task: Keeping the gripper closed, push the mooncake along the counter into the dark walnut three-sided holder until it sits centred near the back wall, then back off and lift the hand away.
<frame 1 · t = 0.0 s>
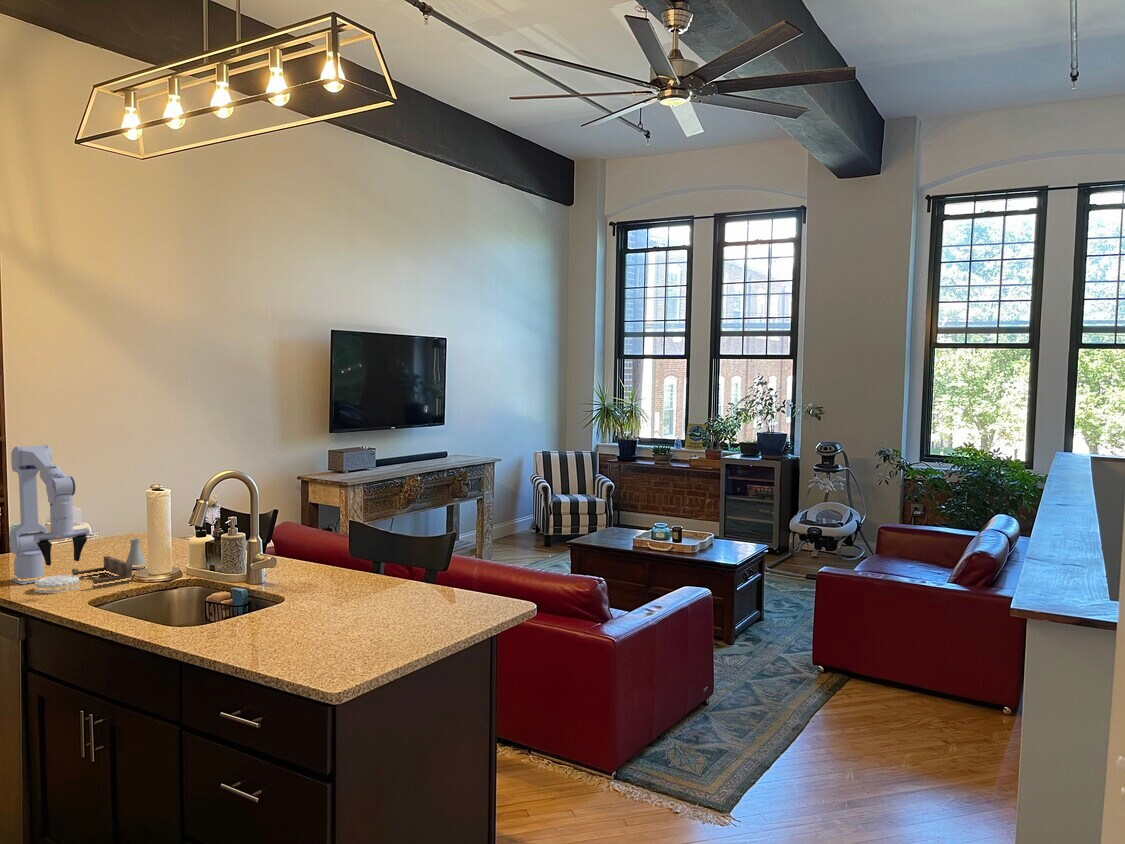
hand: (62, 562, 247), 10 cm above the counter, tool pointing down, fingers open, 7 cm apart
flask: (135, 569, 285), on the counter
mooncake: (57, 590, 256), on the counter
lid holder: (95, 582, 264), on the counter
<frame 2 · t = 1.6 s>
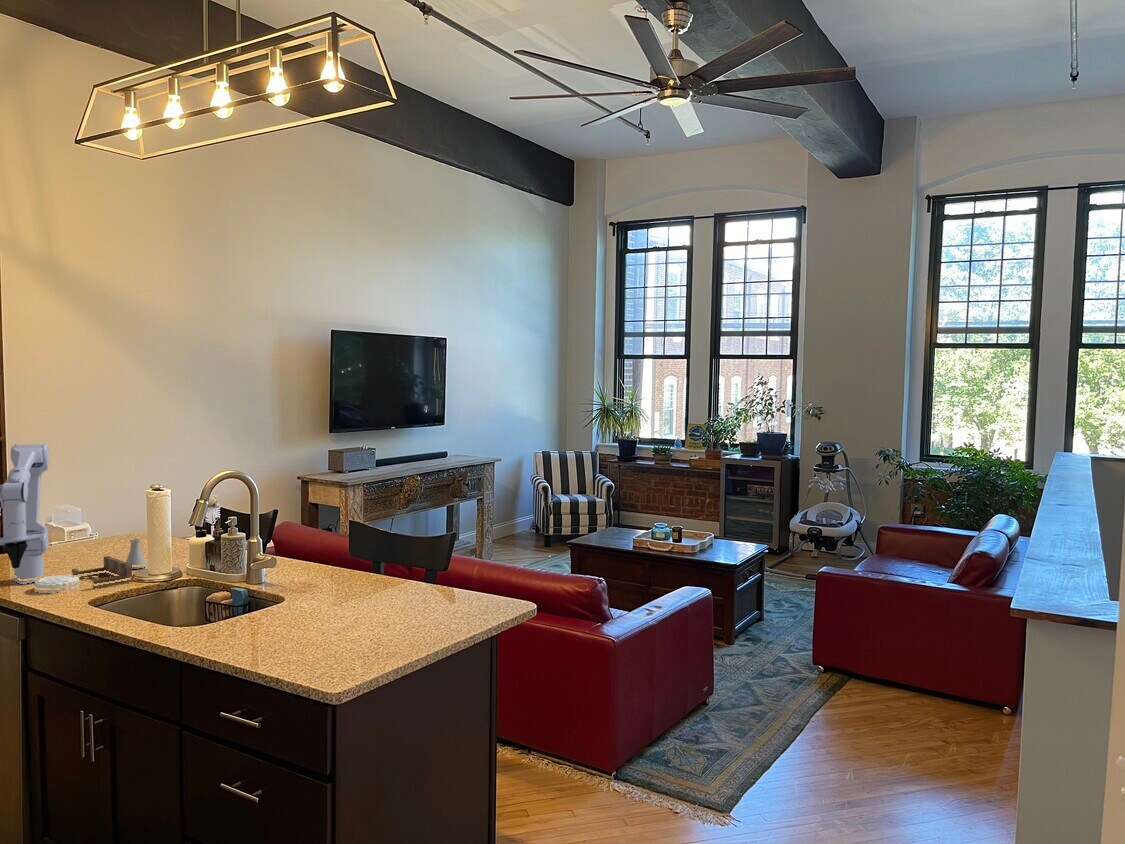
hand: (15, 567, 247), 9 cm above the counter, tool pointing down, fingers closed
nothing on the counter moved.
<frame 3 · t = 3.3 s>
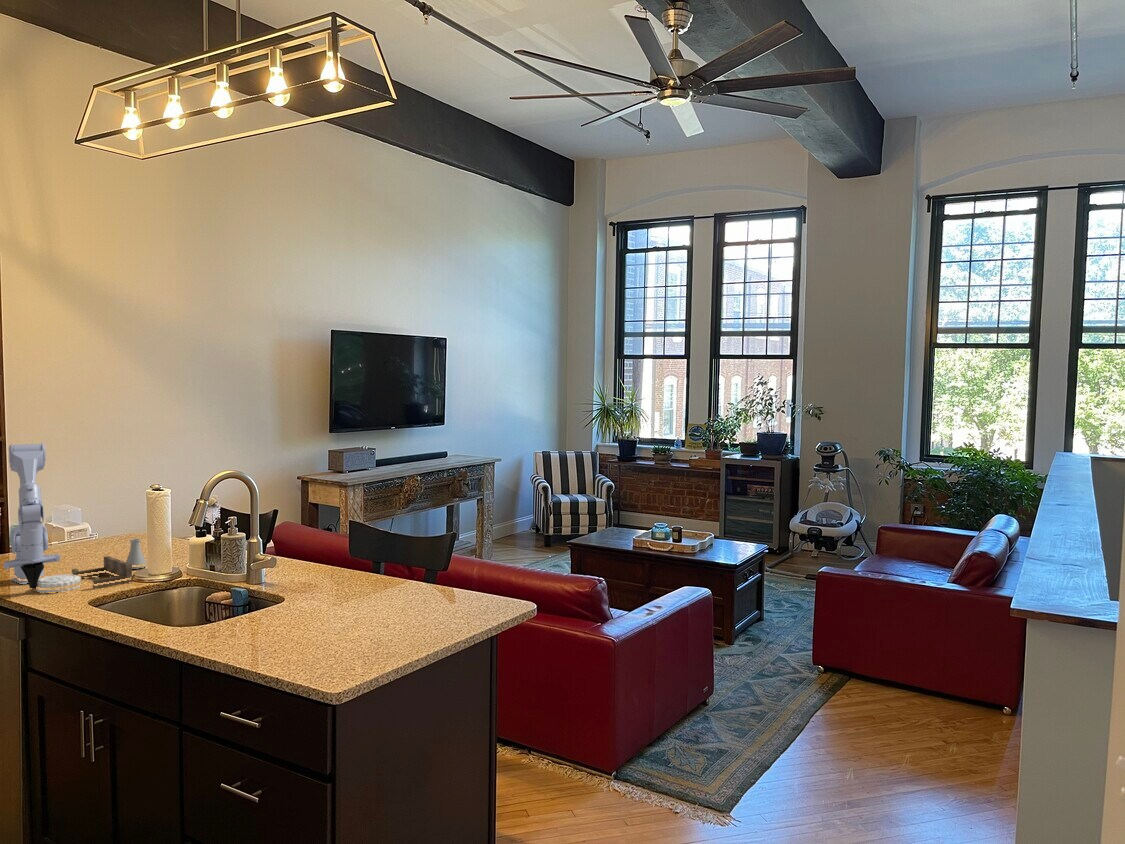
hand: (32, 588, 251), 1 cm above the counter, tool pointing down, fingers closed
mooncake: (58, 589, 256), on the counter, touching gripper
everything else where it was.
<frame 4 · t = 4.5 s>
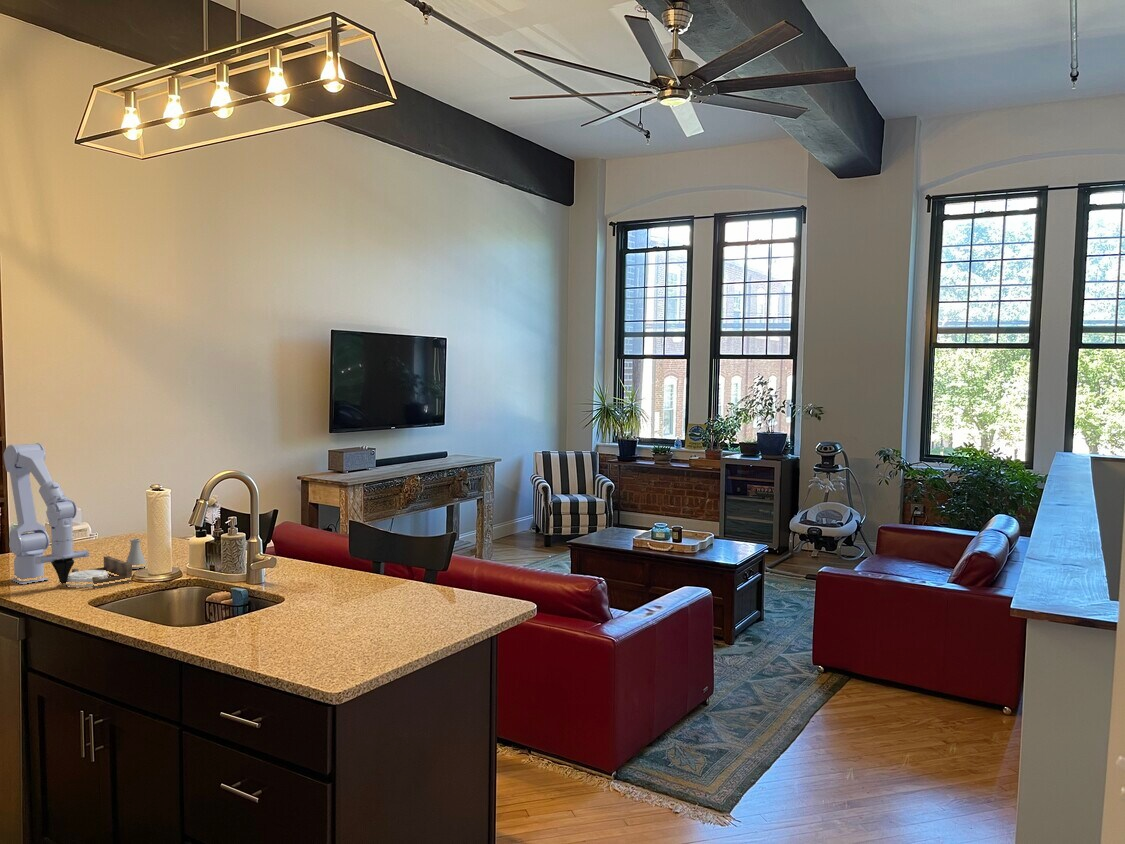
hand: (63, 583, 257), 1 cm above the counter, tool pointing down, fingers closed
mooncake: (87, 584, 263), on the counter, touching gripper
everything else where it was.
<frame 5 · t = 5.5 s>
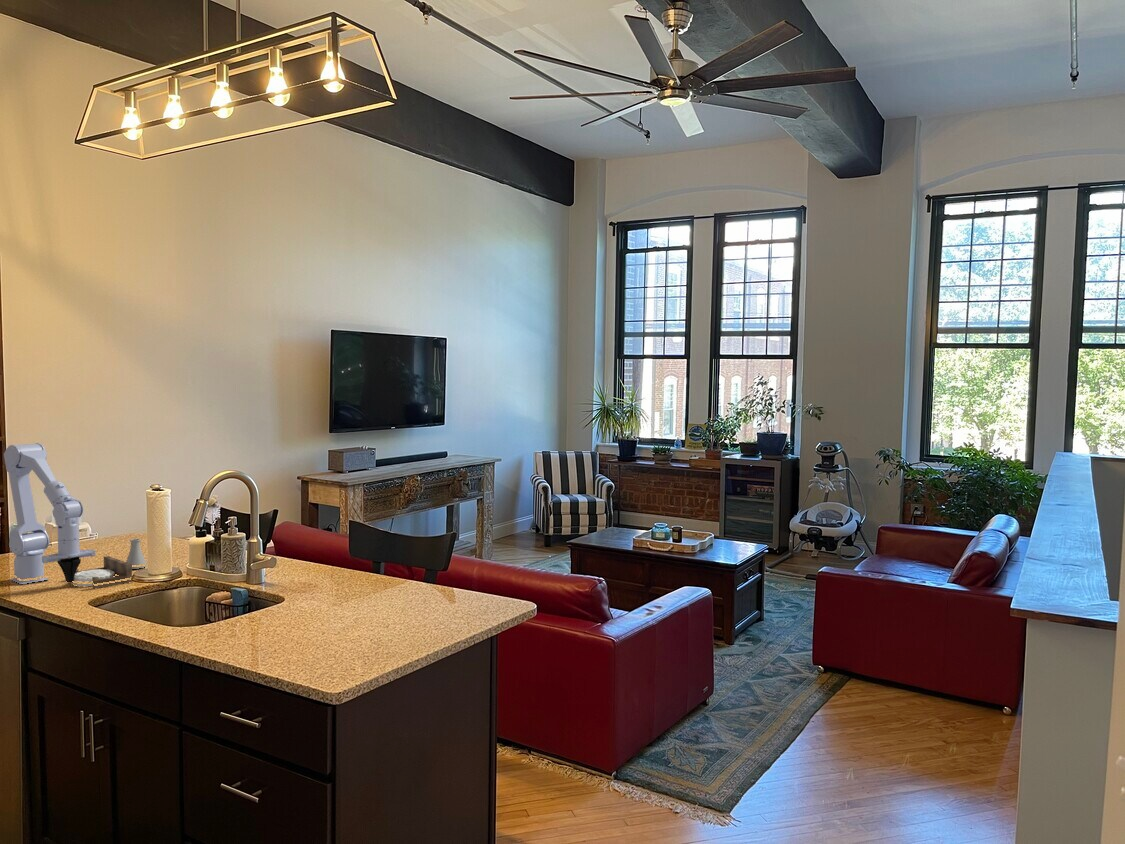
hand: (69, 582, 259), 1 cm above the counter, tool pointing down, fingers closed
mooncake: (93, 584, 264), on the counter
everything else where it was.
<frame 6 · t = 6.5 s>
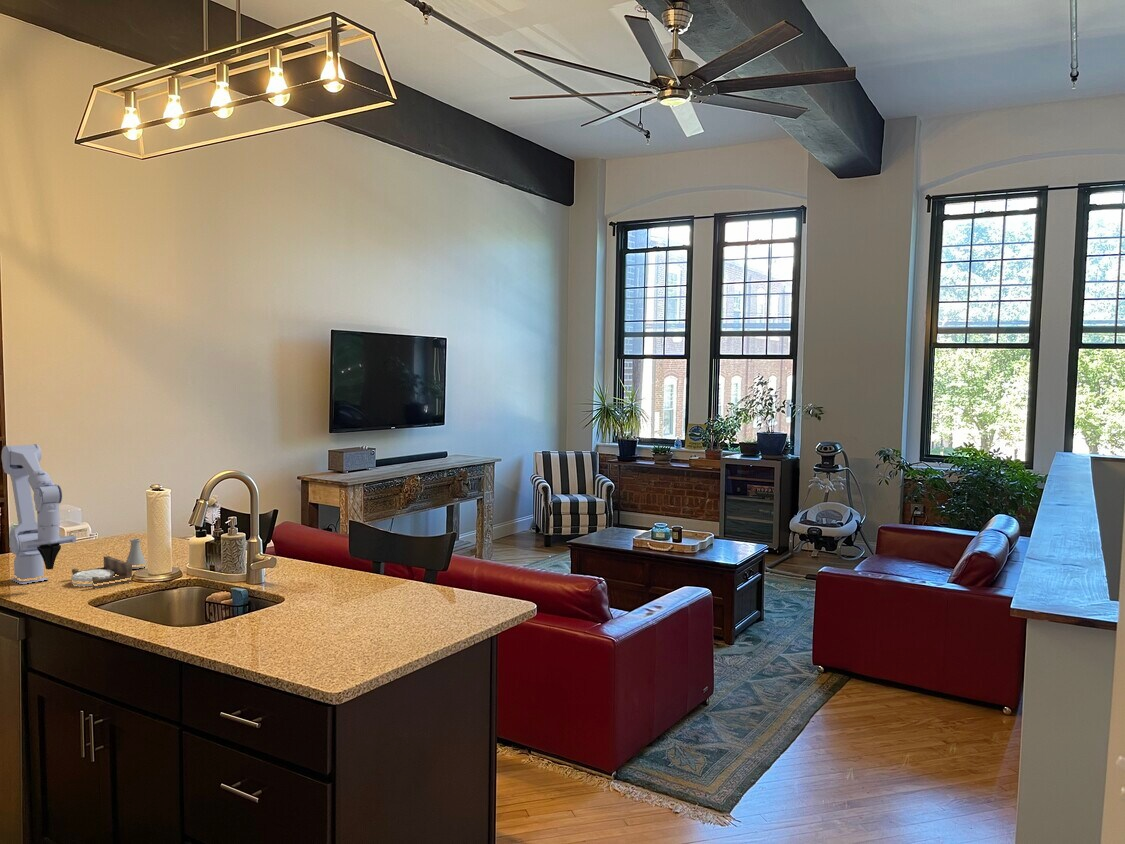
hand: (49, 568, 254), 7 cm above the counter, tool pointing down, fingers closed
nothing on the counter moved.
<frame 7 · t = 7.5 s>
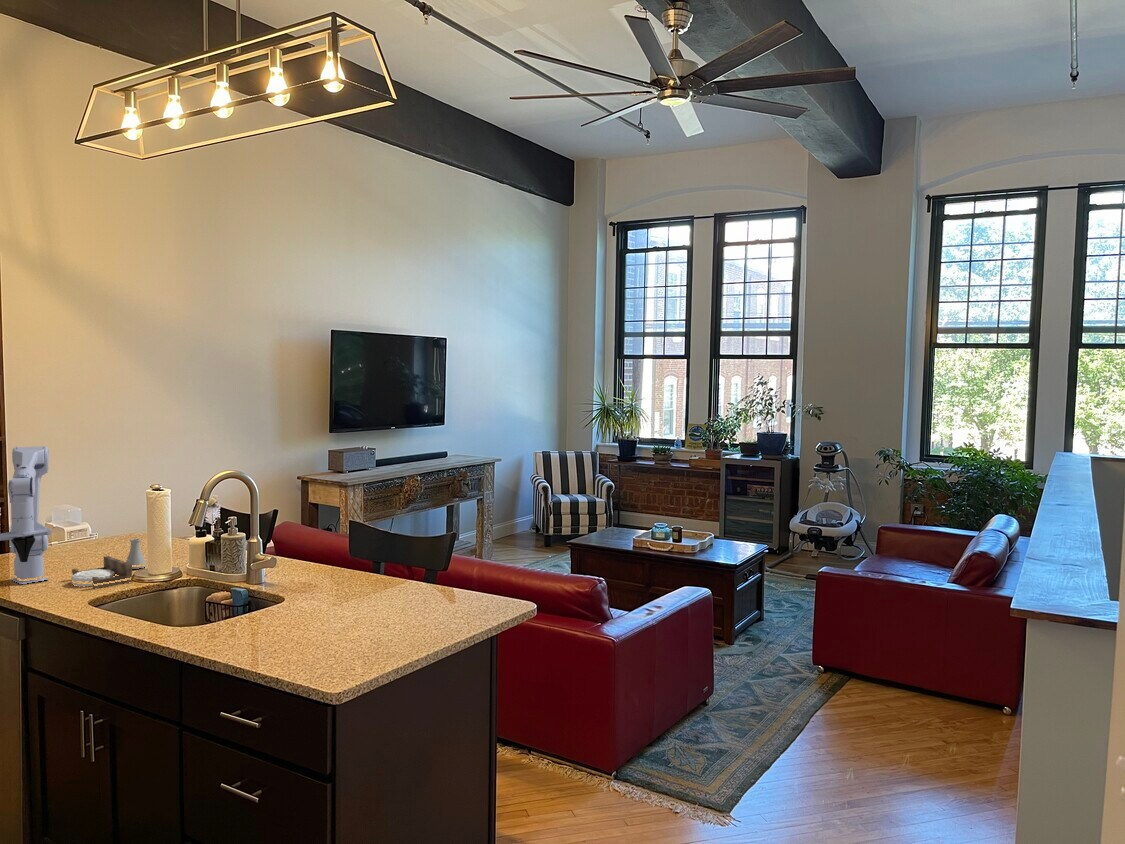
hand: (23, 561, 251), 9 cm above the counter, tool pointing down, fingers closed
nothing on the counter moved.
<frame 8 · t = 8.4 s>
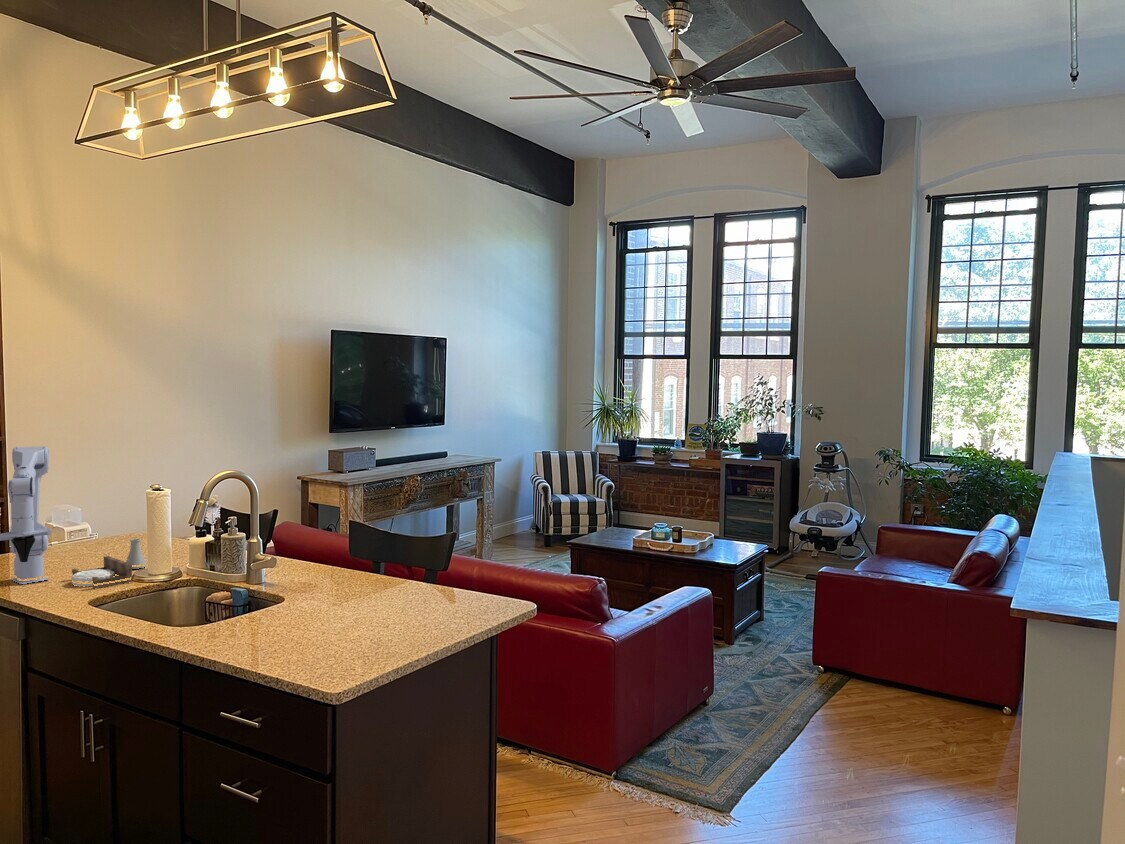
hand: (23, 561, 251), 9 cm above the counter, tool pointing down, fingers closed
nothing on the counter moved.
at the end: mooncake 0.4 cm off-centre on the lid holder, point -0.5 cm above the lid holder's base; mooncake tilted 0° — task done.
